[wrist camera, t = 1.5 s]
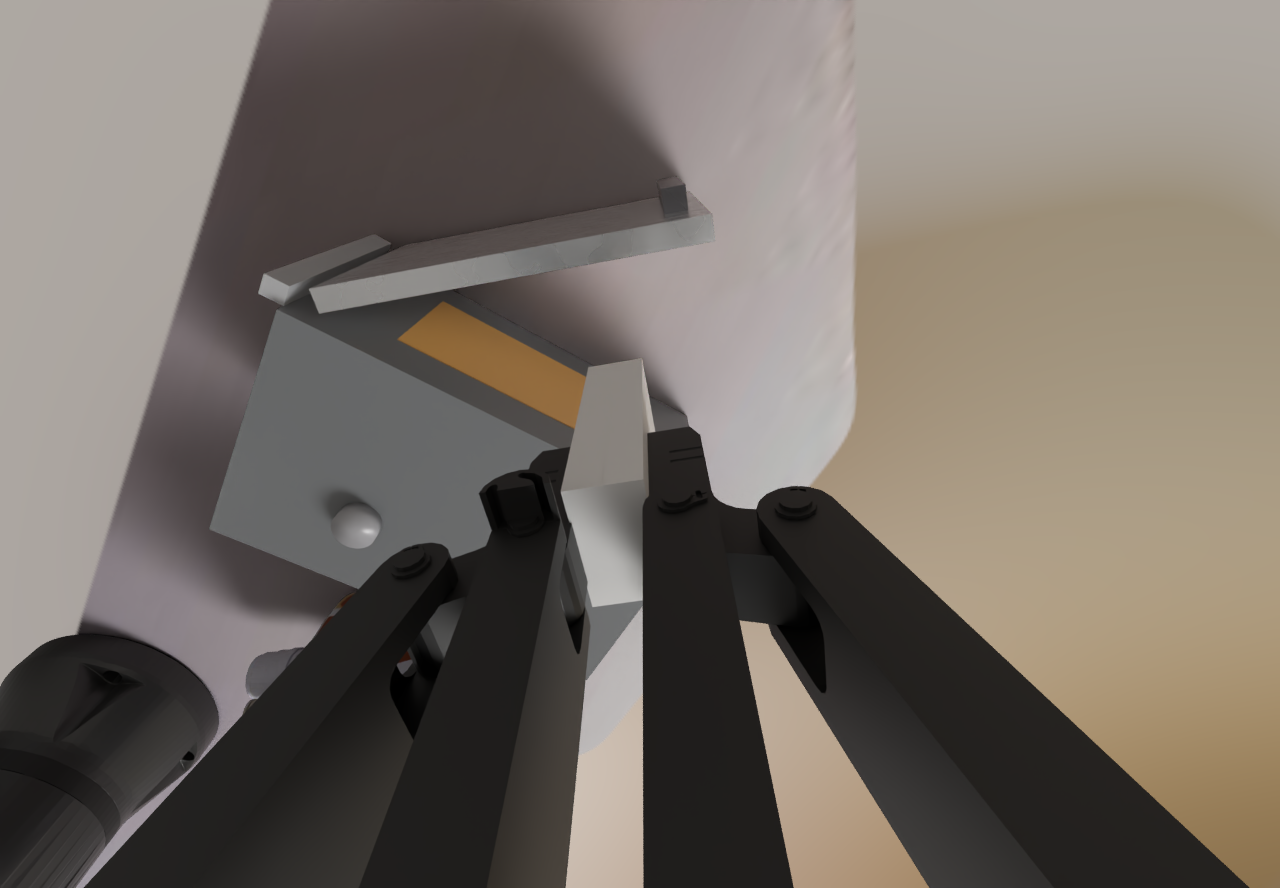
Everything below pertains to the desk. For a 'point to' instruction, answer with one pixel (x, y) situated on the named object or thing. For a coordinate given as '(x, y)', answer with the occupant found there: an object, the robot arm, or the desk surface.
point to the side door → (524, 249)
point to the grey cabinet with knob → (394, 427)
